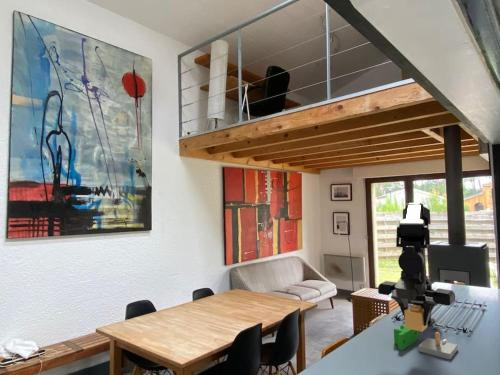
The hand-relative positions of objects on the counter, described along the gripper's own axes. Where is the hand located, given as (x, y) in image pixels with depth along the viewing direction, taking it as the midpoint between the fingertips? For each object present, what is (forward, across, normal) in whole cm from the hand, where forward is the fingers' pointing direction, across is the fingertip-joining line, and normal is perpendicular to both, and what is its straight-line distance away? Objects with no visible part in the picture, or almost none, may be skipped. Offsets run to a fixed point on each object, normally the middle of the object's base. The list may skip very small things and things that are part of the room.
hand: (416, 323), depth 95 cm
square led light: (+1, 0, 0) cm, 1 cm away
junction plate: (+9, +3, +8) cm, 13 cm away
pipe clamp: (+10, -6, +8) cm, 14 cm away
